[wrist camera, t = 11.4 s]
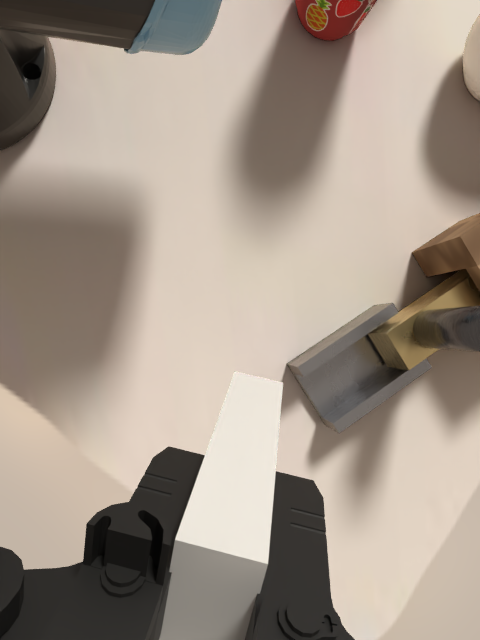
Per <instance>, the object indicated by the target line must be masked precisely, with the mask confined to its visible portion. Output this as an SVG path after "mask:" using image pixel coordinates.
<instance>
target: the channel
mask: <svg viewBox="0 0 480 640" xmlns="http://www.w3.org/2000/svg"><path fill="white" fill-rule="evenodd" d="M398 313H399V312H398V311H397V309H396V307H395V306H394V304H393V303H388V304H380V305H374V306H372V307H371V308H369V309H368V310H366V311H365V312H363V313H362V314H360V315H359V316H357V317H356V318H354V319H353V320H351V321H350V322H348V323H347V324H345V325H344V326H342V327H341V328H339V329H338V330H336V331H335V332H333V333H332V334H330V335H329V336H327V337H326V338H324V339H323V340H322V341H320V342H319V343H317V344H316V345H314V346H313V347H311V348H310V349H308V350H307V351H305V352H304V353H302V354H301V355H299V356H298V357H296V358H295V359H293V360H292V361H290V362H289V363H287V365H288V367H289V368H290V370H291V371H292V373H293V375H294V376H295V378H296V379H297V381H298V383H299V384H300V386H301V387H302V389H303V391H304V392H305V394H306V395H307V397H308V399H309V400H310V402H311V403H312V405H313V407H314V408H315V410H316V411H317V413H318V415H319V416H320V418H321V419H322V421H323V422H324V424H325V425H326V426H328V427H330V428H331V429H333V430H334V431H336V432H338V433H340V432H342V431H343V430H345V429H346V428H348V427H349V426H350V425H352V424H353V423H355V422H356V421H357V420H359V419H360V418H362V417H363V416H364V415H366V414H367V413H369V412H370V411H371V410H373V409H374V408H376V407H377V406H378V405H380V404H381V403H383V402H384V401H385V400H387V399H388V398H390V397H391V396H392V395H394V394H395V393H397V392H398V391H399V390H401V389H402V388H404V387H405V386H406V385H408V384H409V383H411V382H412V381H414V380H415V379H416V378H418V377H419V376H421V375H422V374H423V373H425V372H426V371H428V370H429V369H430V368H432V367H431V365H430V364H429V362H428V360H427V359H425V360H423V361H422V362H420V363H419V364H417V365H416V366H415V367H413V368H412V369H410V370H404V369H398V368H392V367H388V366H387V365H386V363H385V361H384V360H383V358H382V356H381V355H380V353H379V352H378V350H377V348H376V347H375V345H374V343H373V342H372V340H371V338H370V337H369V335H368V333H370V332H371V331H373V330H374V329H376V328H377V327H378V326H380V325H381V324H383V323H384V322H386V321H387V320H389V319H390V318H392V317H393V316H395V315H396V314H398Z"/></svg>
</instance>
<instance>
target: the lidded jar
mask: <svg viewBox="0 0 480 640" xmlns="http://www.w3.org/2000/svg"><path fill="white" fill-rule="evenodd" d="M463 78H464V82H465V85H466V87H467V89H468V91H469V92H470V93H471V95H472V96H473V97H474V98H475V99H477V100H478V101H480V14H479V16H478V17H477V19H476V20H475V22H474V24H473V25H472V27H471V30H470V32H469V34H468V37H467V39H466V43H465V47H464V52H463Z"/></svg>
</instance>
